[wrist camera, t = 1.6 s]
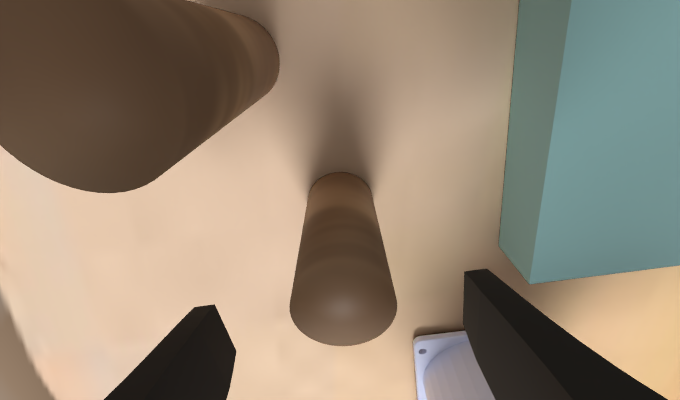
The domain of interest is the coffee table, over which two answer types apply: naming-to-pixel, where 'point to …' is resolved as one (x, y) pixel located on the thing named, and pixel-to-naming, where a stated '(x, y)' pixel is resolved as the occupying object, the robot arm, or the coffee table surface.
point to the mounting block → (593, 139)
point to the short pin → (342, 266)
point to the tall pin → (123, 85)
